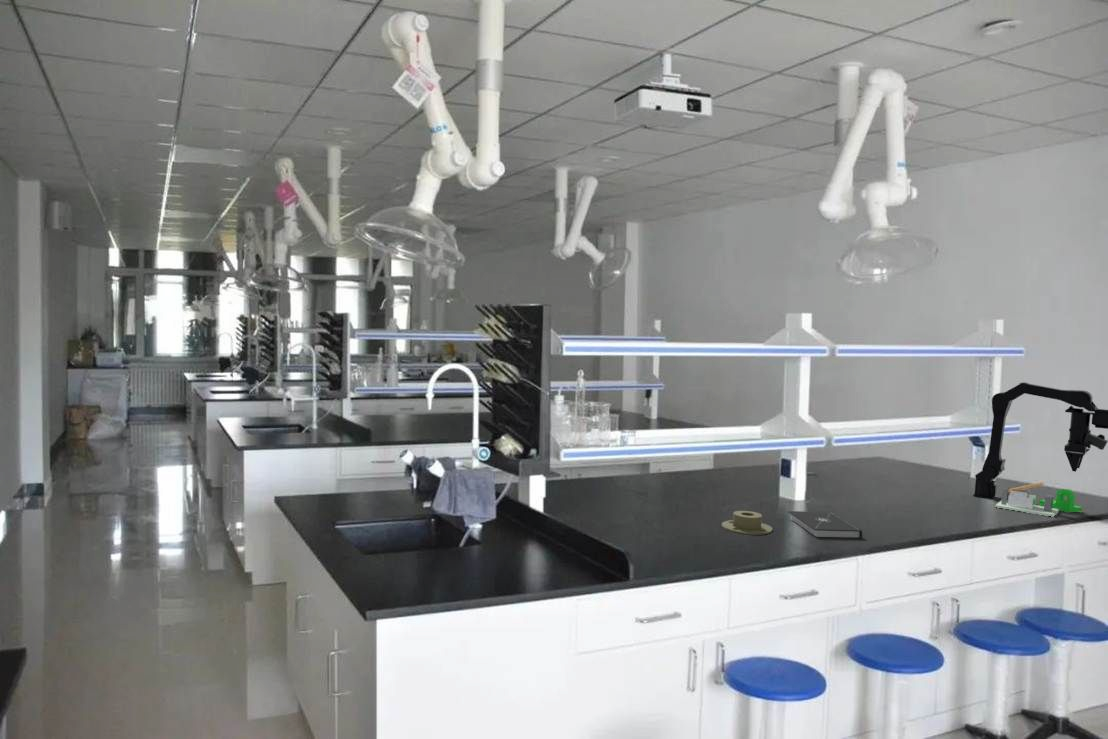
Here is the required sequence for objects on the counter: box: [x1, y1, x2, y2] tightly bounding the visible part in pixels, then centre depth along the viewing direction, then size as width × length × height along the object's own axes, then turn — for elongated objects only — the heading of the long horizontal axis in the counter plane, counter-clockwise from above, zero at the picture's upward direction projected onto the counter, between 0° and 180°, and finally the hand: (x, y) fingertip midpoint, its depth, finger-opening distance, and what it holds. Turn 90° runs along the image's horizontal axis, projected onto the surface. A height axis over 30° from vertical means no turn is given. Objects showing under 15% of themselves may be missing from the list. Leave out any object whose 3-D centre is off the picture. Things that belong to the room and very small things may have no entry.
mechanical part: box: [1038, 488, 1083, 513], centre depth 295 cm, size 12×6×8 cm, turn 19°
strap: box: [1008, 481, 1044, 493], centre depth 291 cm, size 13×3×1 cm, turn 51°
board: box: [995, 500, 1060, 518], centre depth 291 cm, size 18×12×1 cm, turn 52°
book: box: [787, 510, 863, 539], centre depth 253 cm, size 22×15×3 cm
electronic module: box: [1000, 486, 1054, 512], centre depth 291 cm, size 15×7×6 cm, turn 52°
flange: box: [721, 510, 773, 536], centre depth 250 cm, size 5×15×15 cm
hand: (1075, 469), depth 292 cm, fingers open, 9 cm apart
